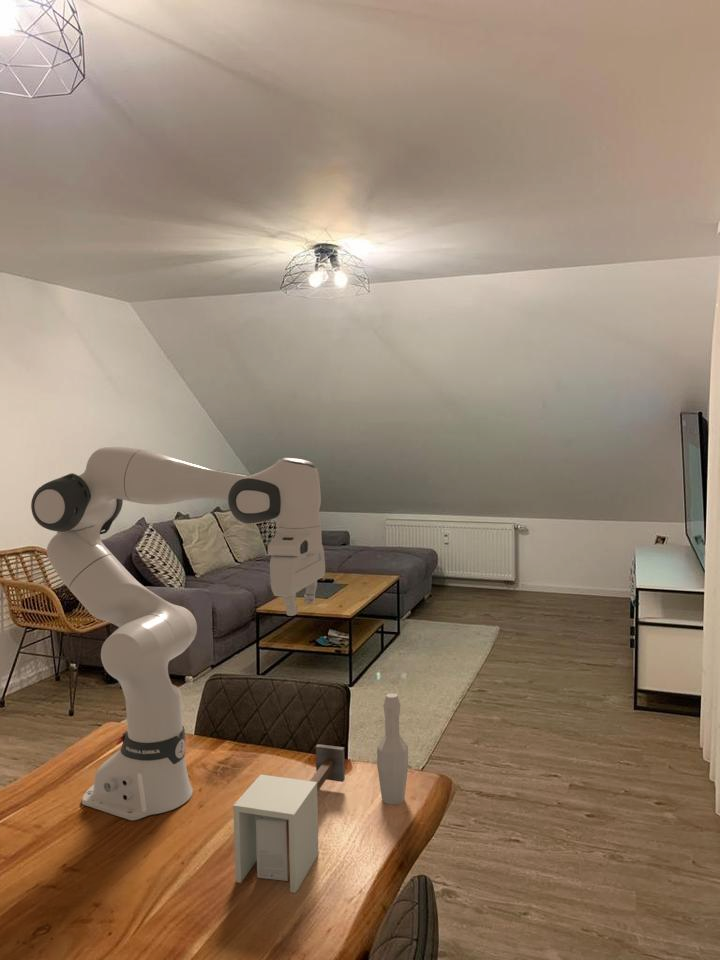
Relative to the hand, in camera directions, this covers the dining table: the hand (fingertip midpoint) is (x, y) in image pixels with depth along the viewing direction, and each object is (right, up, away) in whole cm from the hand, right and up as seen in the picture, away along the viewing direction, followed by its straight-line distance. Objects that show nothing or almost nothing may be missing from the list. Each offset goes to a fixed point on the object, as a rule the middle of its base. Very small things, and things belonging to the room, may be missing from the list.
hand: (301, 608), depth 139 cm
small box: (-2, -43, -16) cm, 46 cm away
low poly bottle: (+19, -41, +6) cm, 45 cm away
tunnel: (-3, -42, -17) cm, 46 cm away
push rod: (+2, -39, 0) cm, 39 cm away
